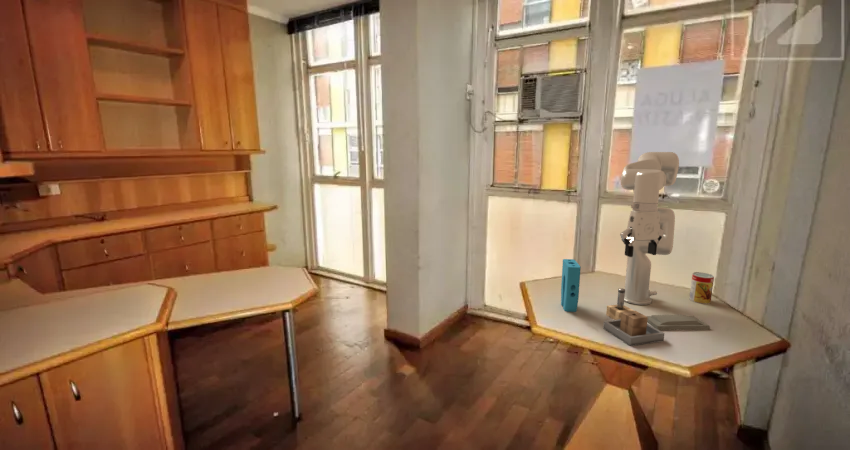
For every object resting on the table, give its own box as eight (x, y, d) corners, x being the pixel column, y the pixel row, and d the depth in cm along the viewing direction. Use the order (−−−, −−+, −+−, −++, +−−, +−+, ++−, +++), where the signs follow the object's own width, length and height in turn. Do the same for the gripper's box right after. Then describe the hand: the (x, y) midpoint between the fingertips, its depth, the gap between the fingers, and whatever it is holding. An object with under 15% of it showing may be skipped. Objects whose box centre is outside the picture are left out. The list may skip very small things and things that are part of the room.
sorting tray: (634, 324, 154) (635, 317, 154) (663, 341, 141) (664, 333, 140) (603, 328, 151) (603, 321, 150) (630, 346, 138) (630, 338, 137)
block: (578, 313, 164) (581, 267, 161) (565, 313, 165) (568, 267, 161) (571, 302, 176) (574, 259, 172) (559, 302, 177) (562, 259, 173)
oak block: (620, 313, 165) (621, 304, 164) (633, 320, 158) (634, 310, 157) (606, 314, 163) (606, 305, 162) (618, 322, 156) (619, 312, 156)
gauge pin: (619, 315, 162) (622, 287, 160) (624, 318, 160) (626, 290, 157) (614, 316, 162) (616, 288, 159) (618, 319, 159) (621, 290, 157)
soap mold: (710, 331, 149) (711, 322, 148) (657, 332, 149) (658, 323, 148) (692, 319, 159) (693, 311, 159) (642, 320, 159) (643, 312, 158)
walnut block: (633, 328, 149) (635, 310, 148) (645, 335, 144) (647, 317, 142) (619, 329, 148) (621, 312, 147) (631, 337, 142) (633, 318, 141)
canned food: (714, 304, 173) (718, 277, 171) (695, 303, 174) (698, 277, 172) (704, 297, 181) (707, 272, 178) (685, 296, 182) (689, 271, 179)
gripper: (631, 210, 131) (627, 259, 134) (674, 207, 135) (669, 256, 138) (615, 206, 138) (611, 254, 142) (657, 204, 142) (652, 250, 146)
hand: (640, 255), depth 140 cm, fingers open, 9 cm apart
